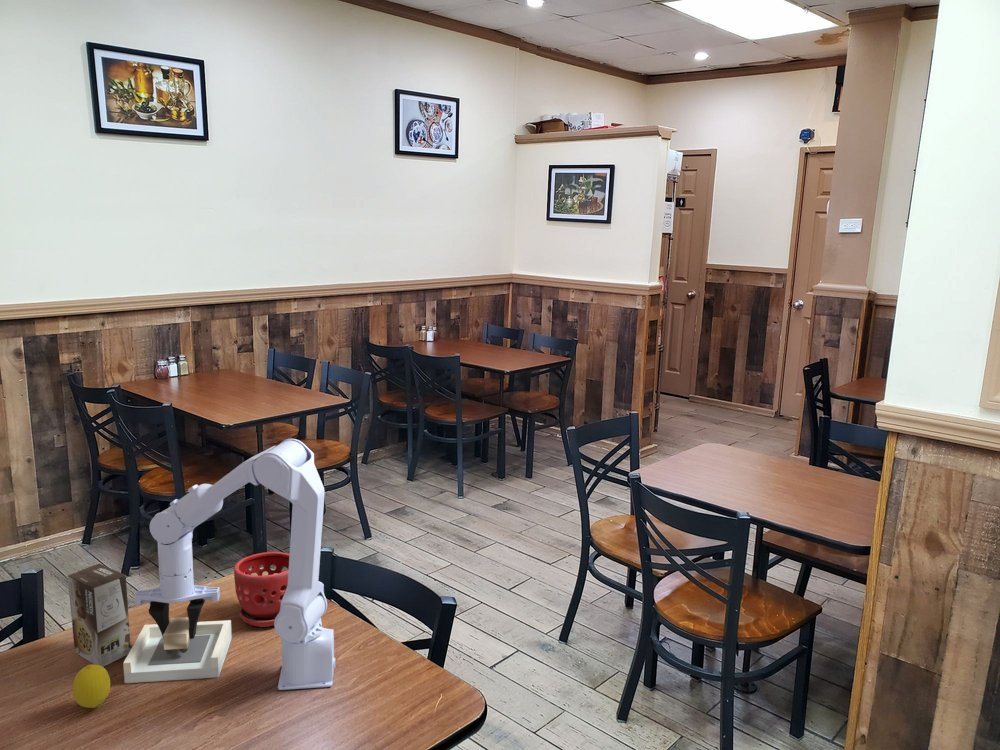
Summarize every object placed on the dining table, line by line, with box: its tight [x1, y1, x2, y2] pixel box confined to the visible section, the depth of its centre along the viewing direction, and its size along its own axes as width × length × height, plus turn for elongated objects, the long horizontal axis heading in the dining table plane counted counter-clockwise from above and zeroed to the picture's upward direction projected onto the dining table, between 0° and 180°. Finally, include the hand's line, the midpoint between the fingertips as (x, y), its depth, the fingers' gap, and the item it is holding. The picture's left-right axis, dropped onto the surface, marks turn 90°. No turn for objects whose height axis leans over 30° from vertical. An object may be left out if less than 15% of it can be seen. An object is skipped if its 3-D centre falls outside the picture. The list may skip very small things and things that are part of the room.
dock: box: [122, 619, 233, 684], centre depth 140 cm, size 16×13×4 cm
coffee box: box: [67, 563, 132, 668], centre depth 140 cm, size 9×6×16 cm
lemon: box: [72, 663, 111, 709], centre depth 125 cm, size 6×6×8 cm
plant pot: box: [233, 551, 290, 627], centre depth 156 cm, size 13×13×12 cm
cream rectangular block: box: [163, 616, 191, 654], centre depth 139 cm, size 4×6×4 cm, turn 10°
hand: (179, 636), depth 139 cm, fingers closed on cream rectangular block, 4 cm apart
